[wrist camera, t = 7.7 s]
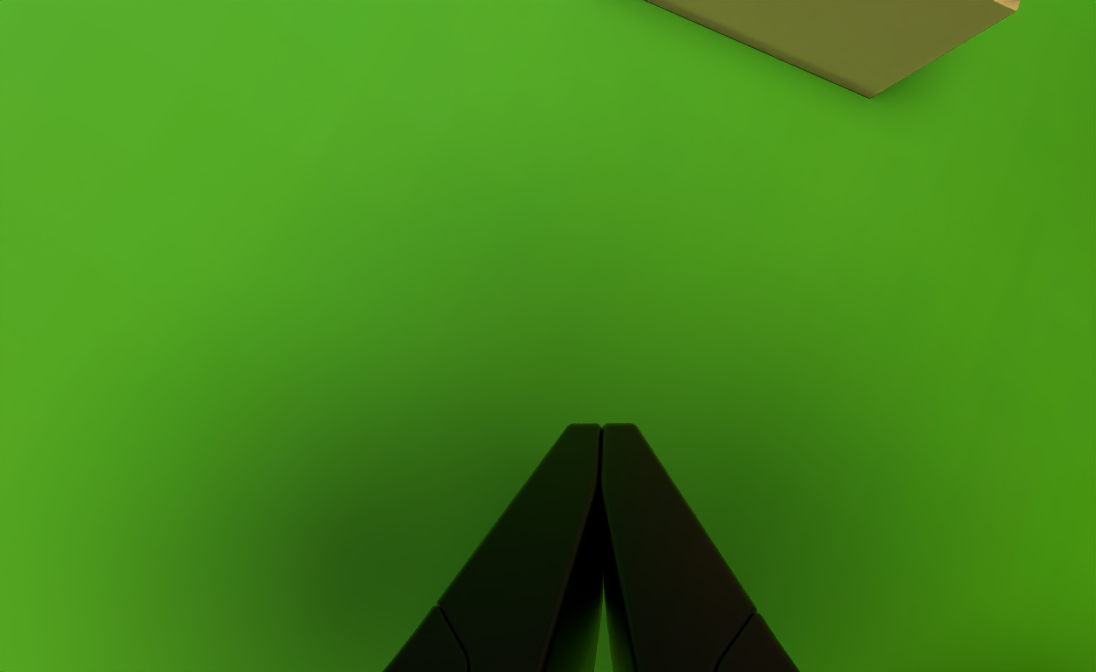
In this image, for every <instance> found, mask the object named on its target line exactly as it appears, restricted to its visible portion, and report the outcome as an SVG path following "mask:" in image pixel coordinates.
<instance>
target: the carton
mask: <svg viewBox="0 0 1096 672" xmlns="http://www.w3.org/2000/svg"><path fill="white" fill-rule="evenodd" d="M646 1H648V2H651V3H653V4H655V5H657V6H660V7H662V8H664V9H667V10H669V11H671V12H673V13H676V14H678V15H680V16H683V17H685V18H687V19H689V20H692V21H694V22H696V23H699V24H701V25H703V26H705V27H708V28H710V29H712V30H715V31H717V32H719V33H721V34H724V35H726V36H728V37H731V38H733V39H735V40H737V41H740V42H742V43H744V44H747V45H749V46H751V47H754V48H756V49H758V50H760V51H763V52H765V53H767V54H770V55H772V56H774V57H776V58H779V59H781V60H783V61H786V62H788V63H790V64H792V65H795V66H797V67H799V68H802V69H804V70H806V71H808V72H811V73H813V74H815V75H818V76H820V77H822V78H824V79H827V80H829V81H831V82H834V83H836V84H838V85H840V86H843V87H845V88H847V89H850V90H852V91H854V92H856V93H859V94H861V95H863V96H866V97H868V98H872V97H874V96H875V95H877V94H879V93H880V92H882V91H884V90H885V89H887V88H889V87H890V86H892V85H894V84H896V83H897V82H899V81H901V80H902V79H904V78H906V77H907V76H909V75H911V74H912V73H914V72H916V71H917V70H919V69H921V68H922V67H924V66H926V65H927V64H929V63H931V62H932V61H934V60H936V59H937V58H939V57H941V56H942V55H944V54H946V53H947V52H949V51H951V50H952V49H954V48H956V47H957V46H959V45H961V44H962V43H964V42H966V41H967V40H969V39H971V38H972V37H974V36H976V35H977V34H979V33H981V32H982V31H984V30H986V29H987V28H989V27H991V26H993V25H994V24H996V23H998V22H999V21H1001V20H1003V19H1004V18H1006V17H1008V16H1009V15H1011V14H1013V13H1014V12H1016V11H1017V8H1018V6H1019V3H1020V0H646Z"/></svg>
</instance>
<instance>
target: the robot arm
mask: <svg viewBox="0 0 1096 672" xmlns="http://www.w3.org/2000/svg"><path fill="white" fill-rule="evenodd" d="M603 582H604V595H605V607H606V618H607V626H608V634H609V642H610V650H611V658H612V666H613V672H800V671H799V670H798V668H797V667H796V665H795V664H794V662H793V661H792V660H791V658H790V657H789V655H788V654H787V653H786V651H785V650H784V648H783V647H782V646H781V644H780V643H779V641H778V640H777V638H776V637H775V635H774V634H773V632H772V631H771V629H770V628H769V626H768V625H767V623H766V621H765V620H764V618H763V617H762V615H761V614H759V613H757V609H756V607H755V605H754V604H753V602H752V601H751V599H750V598H749V596H748V595H747V593H746V592H745V590H744V589H743V587H742V586H741V584H740V582H739V581H738V579H737V578H736V576H735V575H734V573H733V572H732V570H731V569H730V567H729V566H728V564H727V563H726V561H725V560H724V558H723V557H722V555H721V554H720V552H719V551H718V549H717V547H716V546H715V544H714V543H713V541H712V540H711V538H710V537H709V535H708V534H707V532H706V531H705V529H704V528H703V526H702V525H701V523H700V522H699V520H698V519H697V517H696V516H695V514H694V512H693V511H692V509H691V508H690V506H689V505H688V503H687V502H686V500H685V499H684V497H683V496H682V494H681V493H680V491H679V490H678V488H677V487H676V485H675V484H674V482H673V481H672V479H671V477H670V476H669V474H668V473H667V471H666V470H665V468H664V467H663V465H662V464H661V462H660V461H659V459H658V458H657V456H656V455H655V453H654V452H653V450H652V449H651V447H650V446H649V444H648V442H647V441H646V439H645V438H644V436H643V435H642V433H641V432H640V430H639V429H638V427H637V426H636V425H634V424H631V423H608V424H605V425H604V426H603V428H601V426H600V425H599V424H596V423H595V424H570V425H569V426H567V428H566V429H565V430H564V432H563V433H562V434H561V436H560V437H559V438H558V440H557V441H556V442H555V444H554V445H553V446H552V448H551V449H550V450H549V452H548V453H547V454H546V456H545V457H544V458H543V460H542V461H541V463H540V464H539V465H538V467H537V468H536V469H535V471H534V472H533V473H532V475H531V476H530V477H529V479H528V480H527V481H526V483H525V484H524V485H523V487H522V488H521V489H520V491H519V492H518V493H517V495H516V496H515V498H514V499H513V500H512V502H511V503H510V504H509V506H508V507H507V508H506V510H505V511H504V512H503V514H502V515H501V516H500V518H499V519H498V520H497V522H496V523H495V524H494V526H493V527H492V528H491V530H490V531H489V533H488V534H487V535H486V537H485V538H484V539H483V541H482V542H481V543H480V545H479V546H478V547H477V549H476V550H475V551H474V553H473V554H472V555H471V557H470V558H469V559H468V561H467V562H466V563H465V565H464V566H463V568H462V569H461V570H460V572H459V573H458V574H457V576H456V577H455V578H454V580H453V581H452V582H451V584H450V585H449V586H448V588H447V589H446V590H445V592H444V593H443V594H442V596H441V597H440V598H439V600H438V601H437V606H434V607H432V609H431V610H430V611H429V613H428V614H427V615H426V617H425V618H424V620H423V621H422V622H421V624H420V625H419V626H418V628H417V629H416V630H415V632H414V633H413V634H412V636H411V637H410V638H409V639H408V641H407V642H406V643H405V644H404V646H403V647H402V648H401V649H400V651H399V652H398V653H397V654H396V656H395V657H394V658H393V660H392V661H391V662H390V663H389V665H388V666H387V667H386V668H385V669H384V670H383V672H594V665H595V658H596V650H597V643H598V635H599V628H600V620H601V611H602V602H603Z"/></svg>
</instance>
